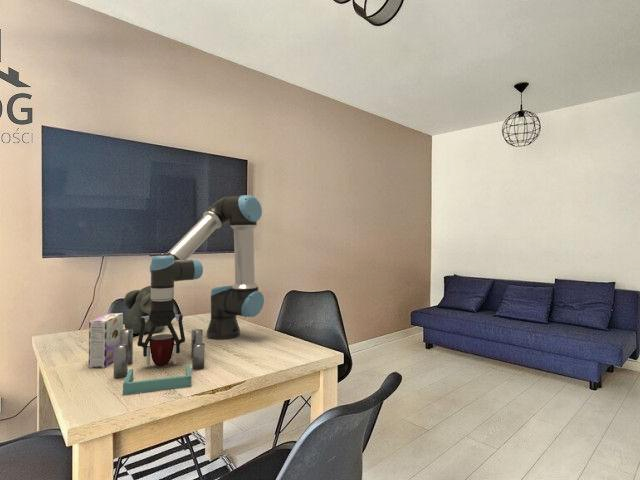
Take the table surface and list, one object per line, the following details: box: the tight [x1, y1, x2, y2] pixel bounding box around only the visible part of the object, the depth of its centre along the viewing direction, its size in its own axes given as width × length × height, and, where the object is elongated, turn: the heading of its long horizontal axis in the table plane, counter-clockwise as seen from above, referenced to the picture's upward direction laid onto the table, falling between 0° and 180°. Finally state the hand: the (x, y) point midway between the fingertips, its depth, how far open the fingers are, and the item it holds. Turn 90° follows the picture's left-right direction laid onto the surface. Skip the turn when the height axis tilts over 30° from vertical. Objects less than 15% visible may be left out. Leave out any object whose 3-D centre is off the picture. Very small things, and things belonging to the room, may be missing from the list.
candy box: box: [88, 312, 124, 369], centre depth 132 cm, size 14×6×16 cm, turn 5°
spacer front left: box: [191, 342, 206, 371], centre depth 126 cm, size 4×4×8 cm
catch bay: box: [122, 362, 192, 396], centre depth 113 cm, size 18×13×3 cm
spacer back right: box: [120, 328, 134, 366], centre depth 130 cm, size 4×4×12 cm
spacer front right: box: [113, 344, 129, 380], centre depth 118 cm, size 4×4×10 cm
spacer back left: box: [190, 328, 204, 358], centre depth 139 cm, size 4×4×10 cm
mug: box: [149, 333, 175, 368], centre depth 128 cm, size 11×8×10 cm
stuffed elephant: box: [123, 285, 166, 335], centre depth 177 cm, size 19×21×27 cm
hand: (161, 363), depth 128 cm, fingers closed on mug, 8 cm apart
